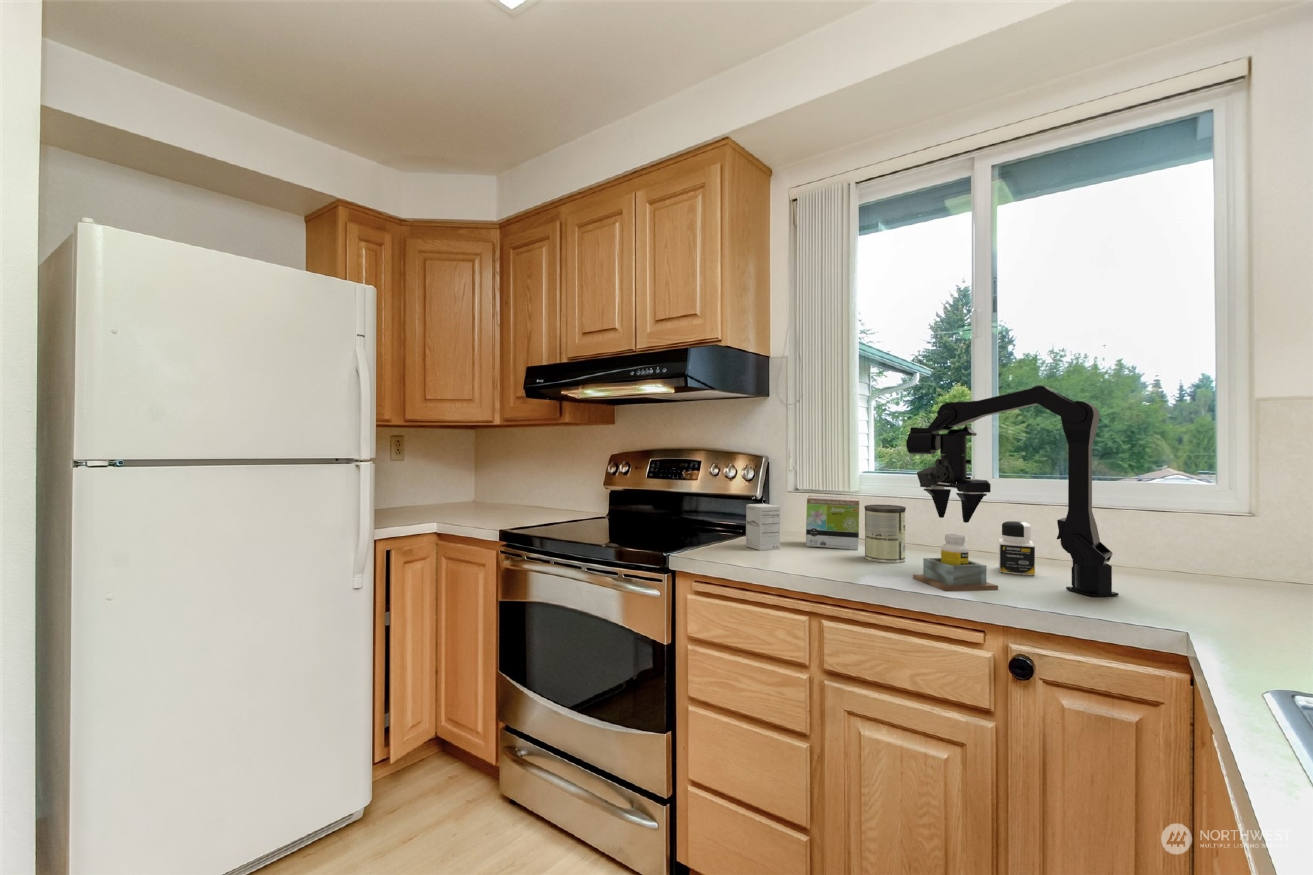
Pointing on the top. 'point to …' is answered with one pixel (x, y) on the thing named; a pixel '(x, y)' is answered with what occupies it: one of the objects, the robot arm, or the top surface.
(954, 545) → the supplement bottle
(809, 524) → the tea box
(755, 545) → the supplement box
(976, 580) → the socket board
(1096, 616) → the top surface
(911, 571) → the top surface
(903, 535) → the coffee can
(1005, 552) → the medicine bottle
